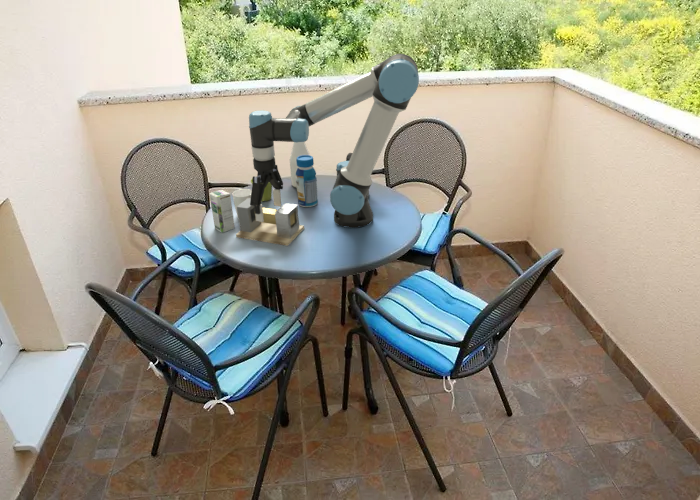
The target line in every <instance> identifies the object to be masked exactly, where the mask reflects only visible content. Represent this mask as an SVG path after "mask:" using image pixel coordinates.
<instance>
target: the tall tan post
mask: <svg viewBox="0 0 700 500" xmlns="http://www.w3.org/2000/svg"><path fill="white" fill-rule="evenodd" d="M277 210H278V209H276V208H268V207H263V217H264V222H263V223H269V224H276V218H275V212H276V211H277ZM255 218H256V215H255ZM256 222H259V221H256ZM290 223H291V226H292V225H293V224H294V223H295V214H294V213H293V214H292V215H291V216H290Z"/></svg>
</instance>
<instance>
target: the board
mask: <svg viewBox="0 0 700 500" xmlns="http://www.w3.org/2000/svg"><path fill="white" fill-rule="evenodd" d="M303 230H305V225H304V224H303V225H302V224H299V230H298V231H297V232H296V233H295V234H294V235H293V236H292V237H291V238H290V239H288V238H282V237H277V227H276V224H269V223H263V222H261V224H260V225H259V226H258V227H256V228H255V229H254V230H253V231H252V232H245V231H240V230H239V231H238V232H237V233H235V237H236V238H239V239H246V240H252V241H256V242H257V241H258V242H262V243H268V244H275V245H280V246H286V247H288V246H289V245H290V244H291V243H292V242H293V241H294V240H295V239H296V238H297V237H298V236H299V235H300V233H302V231H303Z"/></svg>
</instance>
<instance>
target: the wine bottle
mask: <svg viewBox="0 0 700 500" xmlns="http://www.w3.org/2000/svg"><path fill="white" fill-rule="evenodd" d="M305 142H306V141H305ZM305 142H293V144H292V147H291V153H290V156H289V167H290V169H289V170H290V181H291V185H292V187H294V188H296V189H297V183H296V178H297V176H296V171H297V169H298V166H297V162H296V159H297V157H298V156H301V155H310V156H311V154H310V152H309V150H308V147H307V145H306V143H305Z"/></svg>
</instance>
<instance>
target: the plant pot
mask: <svg viewBox="0 0 700 500" xmlns="http://www.w3.org/2000/svg"><path fill="white" fill-rule="evenodd" d="M250 183H251V184H252V185H253V179H252V178H251V179H250ZM252 185H251V186H252ZM272 195H273V186H272V185H271V183H270V182H269V183H268V184H267V186H266V187H265V189H264V193H263V197H262V201H261V202H265V201H266V202H268V201H270V200H272V197H273V196H272Z"/></svg>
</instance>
